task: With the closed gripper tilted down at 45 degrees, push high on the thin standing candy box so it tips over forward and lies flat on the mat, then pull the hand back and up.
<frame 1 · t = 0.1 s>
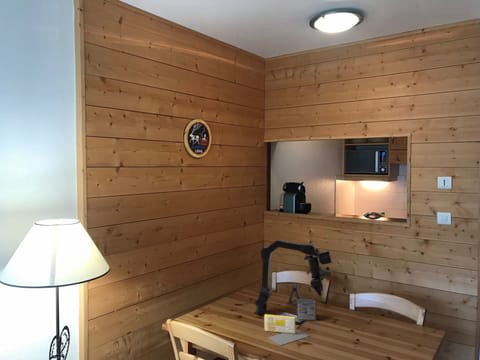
hand: (321, 293, 214), 15 cm above the table, tool pointing down, fingers open, 9 cm apart
placemat: (288, 337, 193), on the table
small box: (306, 319, 217), on the table
phone stand: (295, 303, 241), on the table
candy box: (280, 332, 199), on the table, touching placemat
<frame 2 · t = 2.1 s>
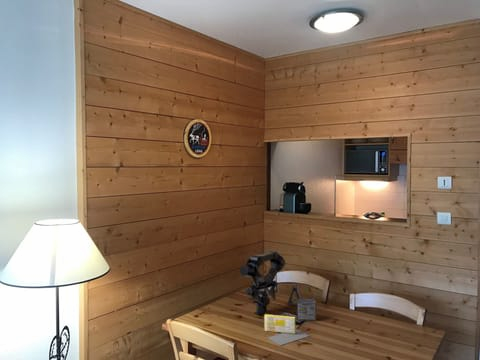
hand: (268, 301, 207), 13 cm above the table, tool tilted 45°, fingers open, 9 cm apart
nothing on the table moved.
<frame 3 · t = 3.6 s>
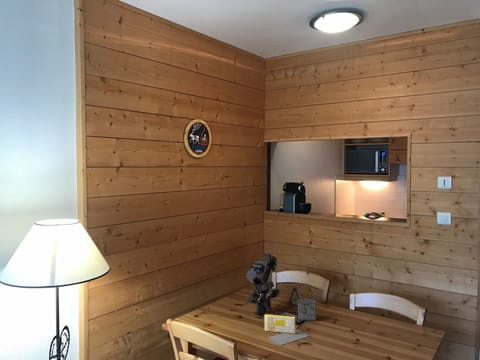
hand: (270, 310, 205), 9 cm above the table, tool tilted 45°, fingers closed
nothing on the table moved.
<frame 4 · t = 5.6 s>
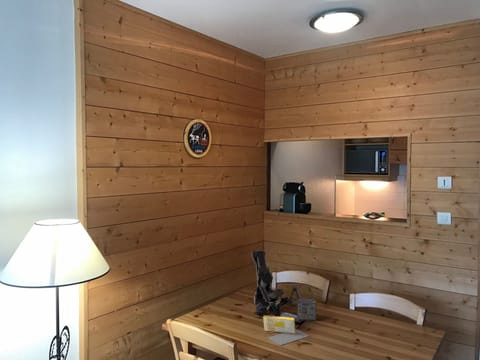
hand: (280, 318, 198), 7 cm above the table, tool tilted 45°, fingers closed
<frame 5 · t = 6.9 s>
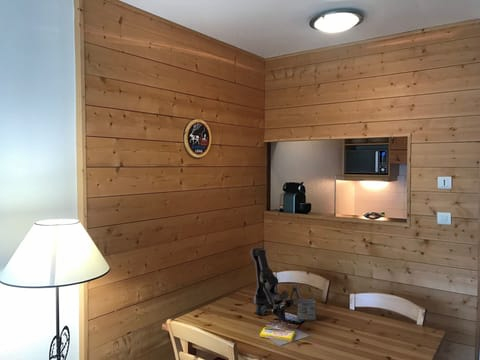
hand: (284, 321, 195), 7 cm above the table, tool tilted 45°, fingers closed
candy box: (279, 330, 198), point 2 cm above the table, touching placemat
everything else where it was.
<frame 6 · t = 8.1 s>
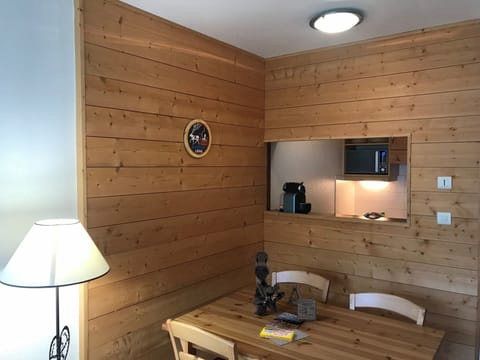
hand: (276, 312, 202), 9 cm above the table, tool tilted 45°, fingers closed
nothing on the table moved.
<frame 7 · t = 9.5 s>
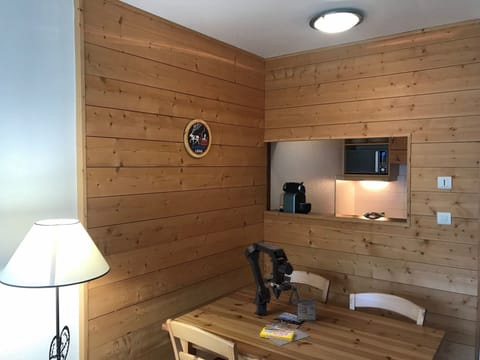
hand: (277, 299, 211), 13 cm above the table, tool pointing down, fingers closed
nothing on the table moved.
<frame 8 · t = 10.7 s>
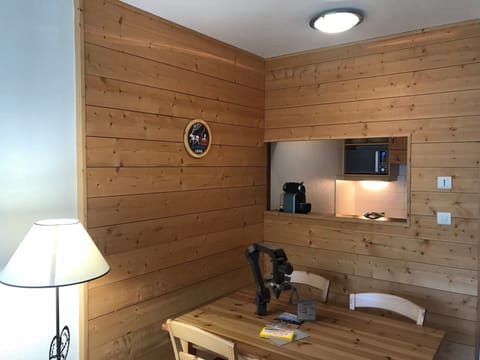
hand: (277, 299, 211), 13 cm above the table, tool pointing down, fingers closed
nothing on the table moved.
at the end: candy box tilted 93°; candy box inside the target area (4.0 cm from its centre), point 1.6 cm above the table; the gripper is holding nothing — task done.
